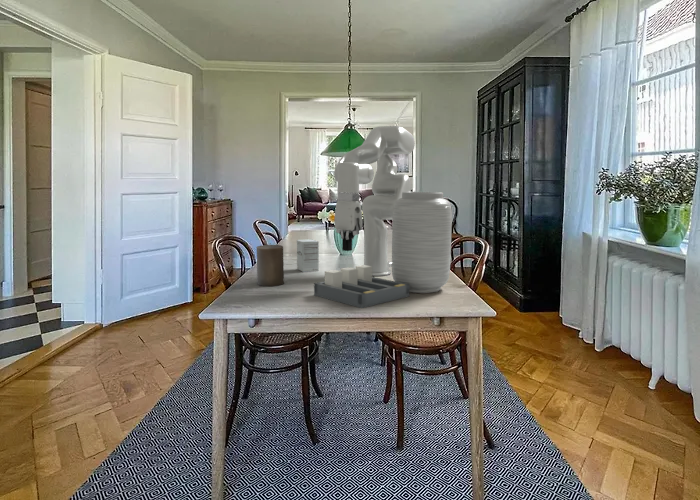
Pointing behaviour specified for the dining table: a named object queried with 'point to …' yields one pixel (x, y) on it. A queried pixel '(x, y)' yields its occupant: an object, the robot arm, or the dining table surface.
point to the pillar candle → (270, 265)
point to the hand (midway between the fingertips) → (347, 250)
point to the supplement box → (307, 255)
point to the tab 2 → (364, 272)
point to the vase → (421, 241)
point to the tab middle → (350, 275)
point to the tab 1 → (333, 278)
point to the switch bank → (363, 292)
